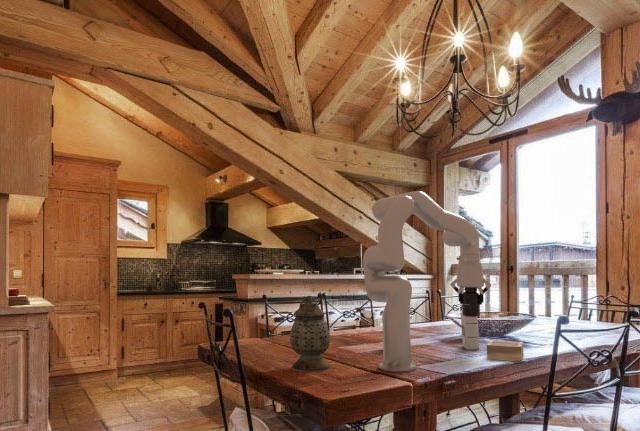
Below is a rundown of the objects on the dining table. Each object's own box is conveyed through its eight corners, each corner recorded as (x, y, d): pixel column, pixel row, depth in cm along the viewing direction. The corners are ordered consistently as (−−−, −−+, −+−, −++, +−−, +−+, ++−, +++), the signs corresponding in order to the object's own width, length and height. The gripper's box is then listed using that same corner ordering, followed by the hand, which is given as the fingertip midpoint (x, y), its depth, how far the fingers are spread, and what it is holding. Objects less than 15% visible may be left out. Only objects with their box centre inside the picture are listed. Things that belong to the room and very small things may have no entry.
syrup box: (480, 349, 198) (478, 314, 200) (465, 349, 198) (464, 314, 200) (475, 347, 204) (474, 312, 205) (461, 347, 204) (460, 312, 205)
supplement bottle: (462, 316, 189) (461, 285, 190) (462, 315, 195) (461, 285, 197) (480, 316, 187) (479, 285, 188) (480, 315, 193) (479, 285, 195)
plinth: (521, 361, 173) (521, 346, 174) (487, 358, 178) (486, 344, 179) (523, 355, 184) (522, 341, 184) (490, 353, 189) (490, 340, 189)
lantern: (339, 367, 166) (337, 295, 168) (309, 374, 156) (308, 297, 158) (311, 362, 176) (310, 294, 178) (281, 368, 166) (281, 296, 168)
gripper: (446, 259, 194) (447, 303, 192) (491, 259, 187) (492, 305, 184) (449, 260, 201) (450, 302, 198) (493, 259, 193) (494, 304, 191)
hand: (471, 303), depth 191 cm, fingers closed on supplement bottle, 6 cm apart
